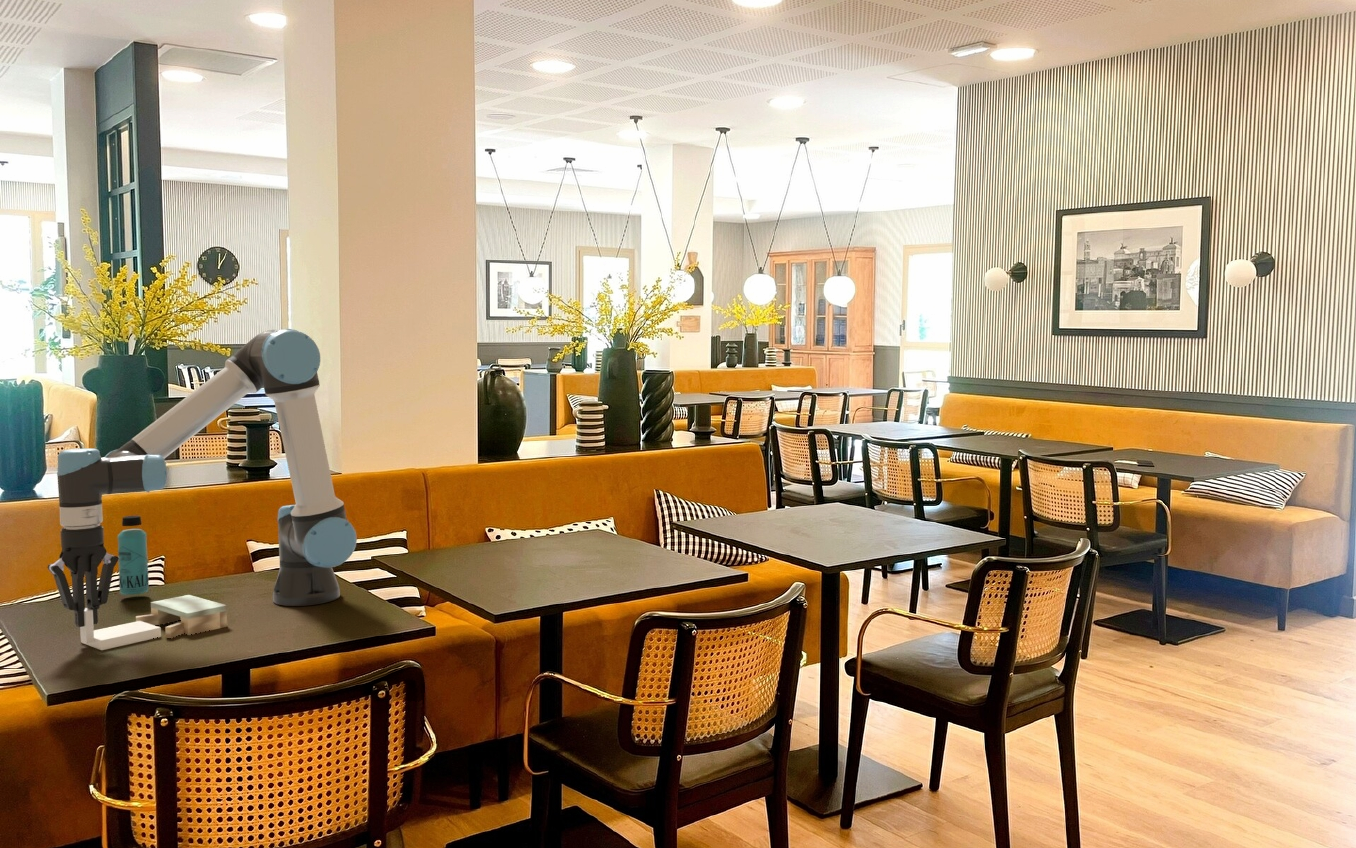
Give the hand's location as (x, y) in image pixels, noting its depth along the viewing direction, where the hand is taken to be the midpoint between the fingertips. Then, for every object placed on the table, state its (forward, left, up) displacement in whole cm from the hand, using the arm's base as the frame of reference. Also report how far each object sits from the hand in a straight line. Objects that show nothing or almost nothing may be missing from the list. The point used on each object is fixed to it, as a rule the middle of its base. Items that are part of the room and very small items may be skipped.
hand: (87, 641), depth 215 cm
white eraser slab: (-3, -6, -1) cm, 7 cm away
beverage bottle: (+17, -39, -2) cm, 43 cm away
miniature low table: (-9, -17, -1) cm, 19 cm away
